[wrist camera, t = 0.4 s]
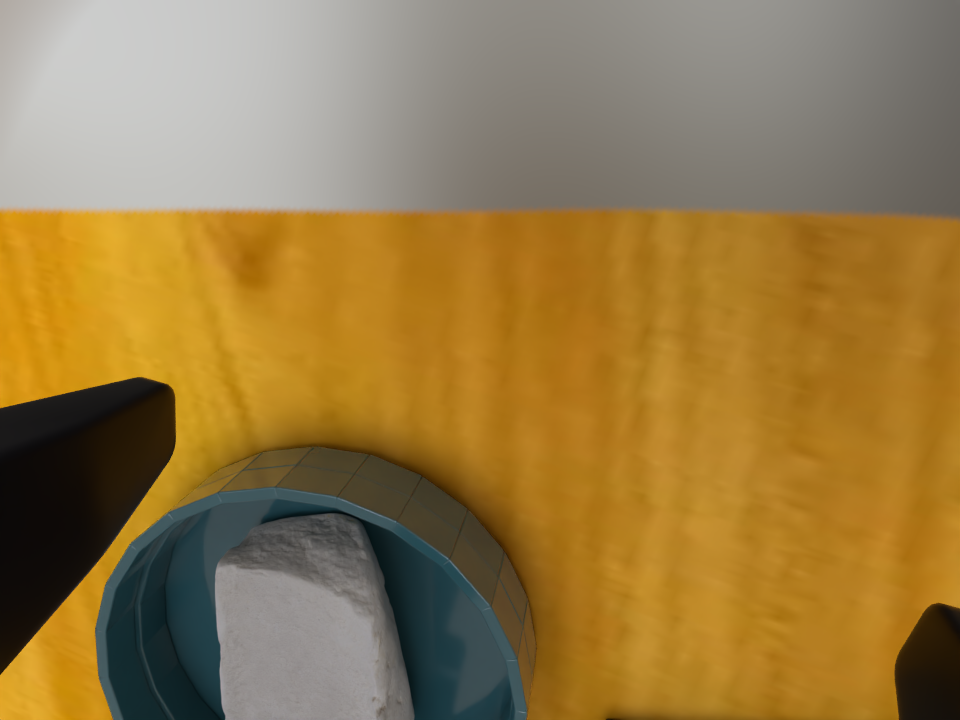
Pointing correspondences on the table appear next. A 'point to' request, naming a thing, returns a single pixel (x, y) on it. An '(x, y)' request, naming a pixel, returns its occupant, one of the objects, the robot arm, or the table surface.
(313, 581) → the grey stone block
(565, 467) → the table surface
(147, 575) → the bowl
